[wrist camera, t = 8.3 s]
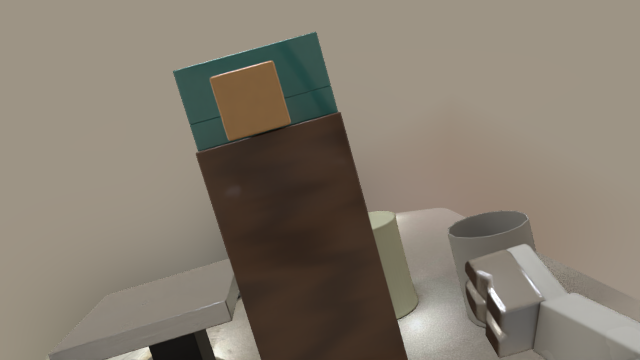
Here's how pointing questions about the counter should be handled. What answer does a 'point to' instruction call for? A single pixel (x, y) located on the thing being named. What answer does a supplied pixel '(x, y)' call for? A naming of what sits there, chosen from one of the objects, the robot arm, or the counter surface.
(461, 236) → the cup
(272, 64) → the teal handled box
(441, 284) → the counter surface
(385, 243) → the can
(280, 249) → the plinth
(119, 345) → the scale
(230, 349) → the counter surface
